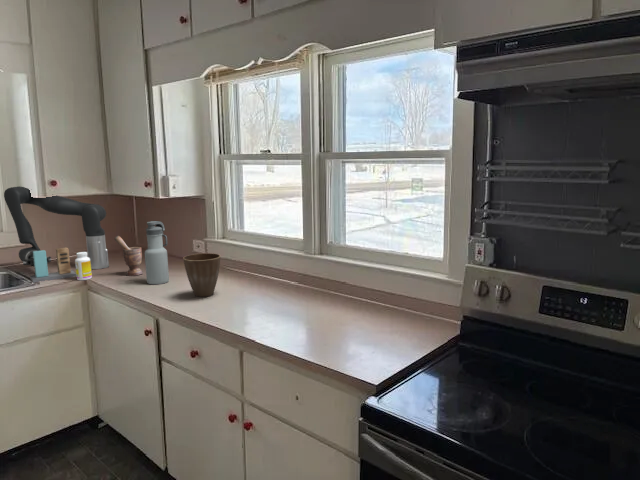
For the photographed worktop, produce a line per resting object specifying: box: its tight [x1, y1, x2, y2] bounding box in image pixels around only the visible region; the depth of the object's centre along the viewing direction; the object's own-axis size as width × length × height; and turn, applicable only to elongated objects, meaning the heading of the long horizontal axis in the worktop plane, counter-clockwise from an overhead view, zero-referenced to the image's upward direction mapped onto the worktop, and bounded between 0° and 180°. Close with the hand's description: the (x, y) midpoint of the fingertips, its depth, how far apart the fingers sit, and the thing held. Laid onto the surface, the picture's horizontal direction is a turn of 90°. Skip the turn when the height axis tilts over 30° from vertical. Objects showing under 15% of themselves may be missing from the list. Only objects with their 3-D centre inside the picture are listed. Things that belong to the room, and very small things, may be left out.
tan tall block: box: [55, 247, 72, 274], centre depth 251 cm, size 5×4×12 cm
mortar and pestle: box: [114, 235, 144, 277], centre depth 249 cm, size 12×9×20 cm
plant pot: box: [182, 252, 221, 298], centre depth 210 cm, size 15×15×16 cm
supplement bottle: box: [74, 251, 93, 281], centre depth 244 cm, size 7×7×13 cm
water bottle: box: [144, 220, 170, 286], centre depth 233 cm, size 10×10×28 cm
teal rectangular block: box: [33, 249, 49, 277], centre depth 245 cm, size 5×4×12 cm
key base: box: [29, 269, 77, 283], centre depth 249 cm, size 19×10×2 cm, turn 126°
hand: (39, 263), depth 247 cm, fingers closed
